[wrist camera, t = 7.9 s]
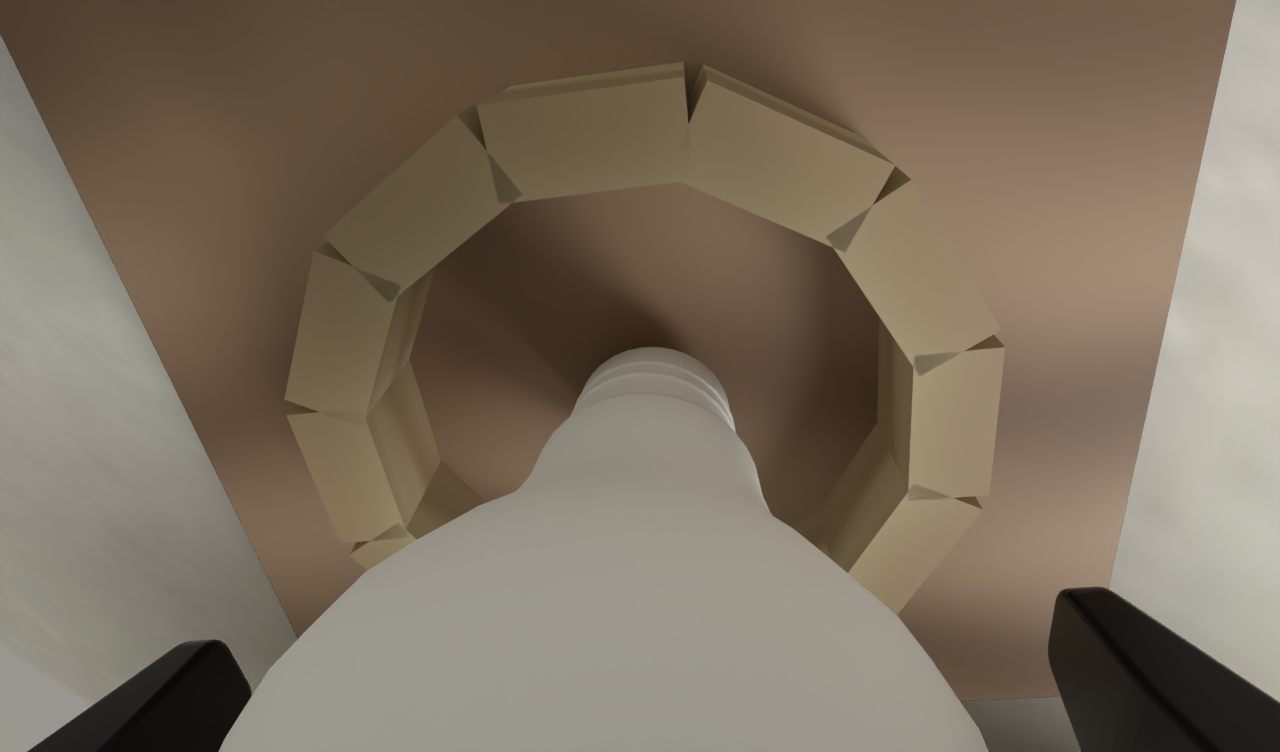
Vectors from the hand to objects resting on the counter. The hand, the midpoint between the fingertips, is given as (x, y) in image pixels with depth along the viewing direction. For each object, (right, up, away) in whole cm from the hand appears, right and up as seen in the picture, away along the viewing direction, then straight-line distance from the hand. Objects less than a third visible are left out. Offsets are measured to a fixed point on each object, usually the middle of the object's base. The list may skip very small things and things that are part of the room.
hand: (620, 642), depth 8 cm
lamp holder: (0, +3, +6) cm, 7 cm away
